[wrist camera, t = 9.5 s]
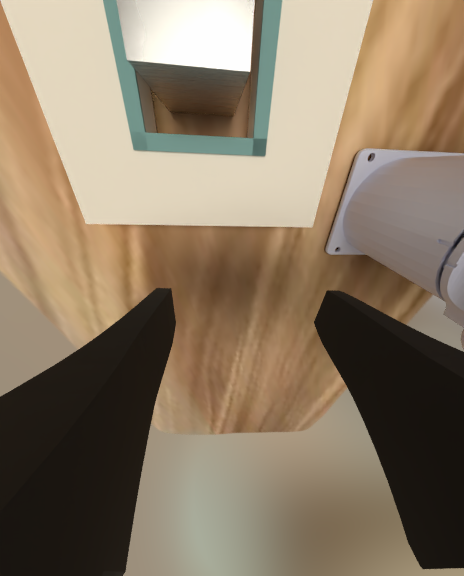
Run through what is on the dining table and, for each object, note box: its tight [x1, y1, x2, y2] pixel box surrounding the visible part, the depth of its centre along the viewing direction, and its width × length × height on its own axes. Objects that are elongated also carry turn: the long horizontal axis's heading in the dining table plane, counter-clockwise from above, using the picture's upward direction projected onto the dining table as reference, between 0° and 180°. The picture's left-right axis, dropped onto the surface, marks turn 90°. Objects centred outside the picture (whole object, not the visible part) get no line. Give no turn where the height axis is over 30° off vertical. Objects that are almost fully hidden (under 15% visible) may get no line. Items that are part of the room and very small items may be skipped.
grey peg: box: [116, 0, 255, 116], centre depth 8 cm, size 4×4×7 cm
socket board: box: [0, 0, 373, 227], centre depth 10 cm, size 16×16×3 cm
